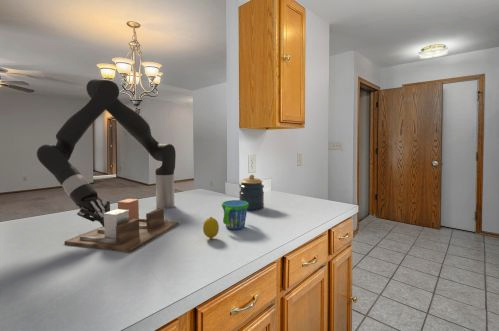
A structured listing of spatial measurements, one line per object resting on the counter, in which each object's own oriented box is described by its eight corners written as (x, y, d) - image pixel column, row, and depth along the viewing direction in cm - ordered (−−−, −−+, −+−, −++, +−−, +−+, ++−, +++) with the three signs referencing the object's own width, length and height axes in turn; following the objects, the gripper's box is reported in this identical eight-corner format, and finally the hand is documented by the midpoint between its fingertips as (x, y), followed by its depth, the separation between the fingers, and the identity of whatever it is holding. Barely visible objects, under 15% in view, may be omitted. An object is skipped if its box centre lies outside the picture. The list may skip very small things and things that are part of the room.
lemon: (206, 242, 93) (205, 220, 92) (201, 237, 98) (201, 216, 97) (221, 240, 96) (221, 217, 95) (215, 235, 101) (215, 214, 100)
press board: (64, 244, 91) (63, 223, 90) (126, 219, 120) (125, 203, 119) (131, 252, 85) (130, 230, 84) (179, 224, 113) (178, 207, 113)
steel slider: (104, 239, 92) (103, 213, 91) (117, 233, 97) (116, 209, 97) (117, 240, 90) (116, 214, 90) (129, 234, 96) (128, 210, 95)
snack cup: (235, 235, 100) (235, 208, 100) (212, 230, 106) (212, 205, 105) (255, 224, 114) (256, 200, 113) (235, 220, 119) (235, 197, 118)
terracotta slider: (118, 223, 109) (117, 201, 108) (128, 219, 115) (128, 198, 114) (129, 224, 108) (128, 202, 107) (138, 220, 114) (138, 199, 113)
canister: (268, 207, 144) (268, 174, 142) (255, 212, 133) (255, 177, 131) (247, 204, 150) (247, 172, 149) (234, 209, 140) (234, 175, 138)
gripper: (68, 186, 89) (100, 225, 87) (100, 180, 102) (129, 215, 100) (56, 200, 91) (88, 240, 89) (89, 193, 104) (117, 227, 102)
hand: (109, 226), depth 94 cm, fingers closed
